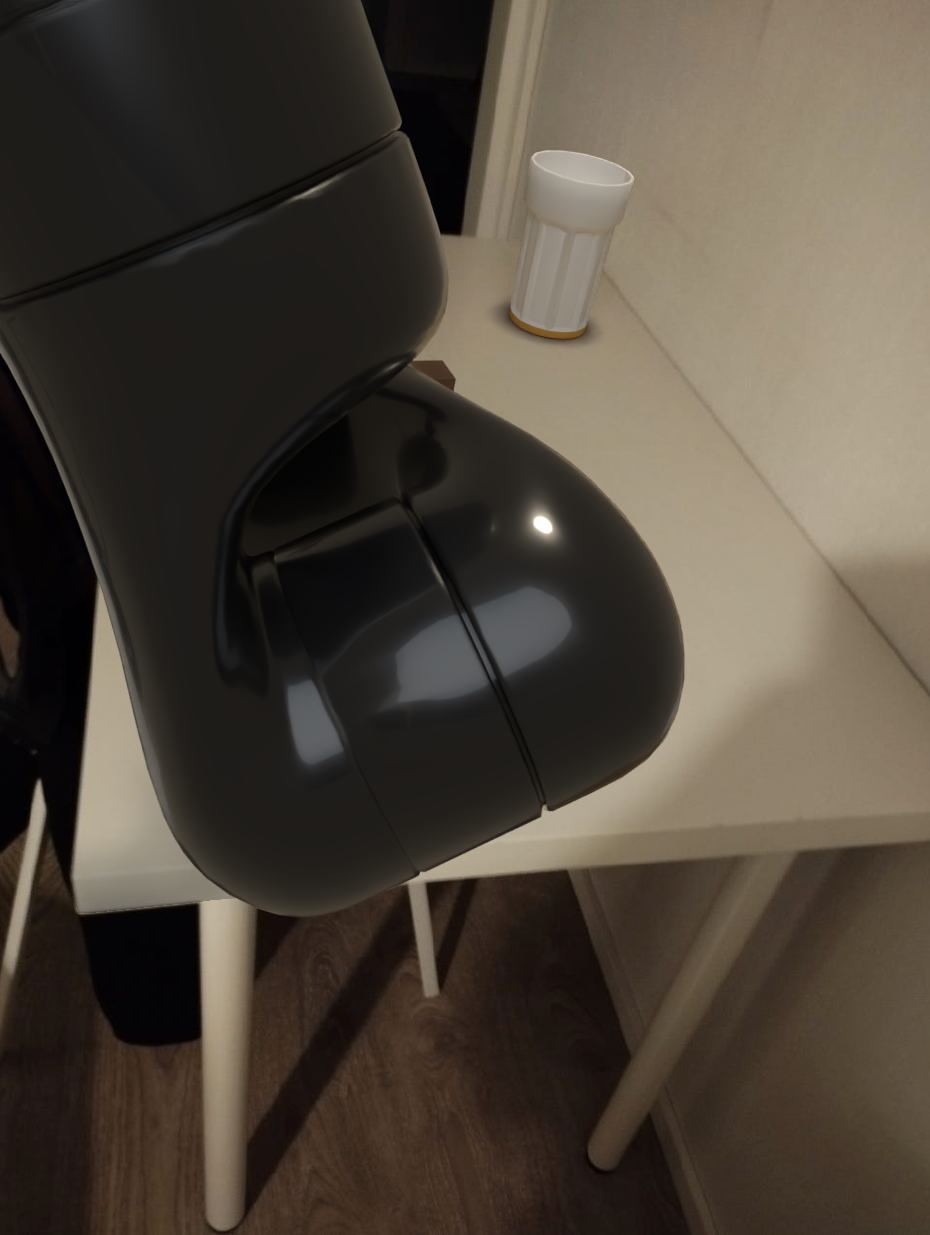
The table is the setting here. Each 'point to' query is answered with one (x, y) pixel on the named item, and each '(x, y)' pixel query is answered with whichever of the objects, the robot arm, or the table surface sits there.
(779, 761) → the table surface
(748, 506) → the table surface
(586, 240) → the cup
